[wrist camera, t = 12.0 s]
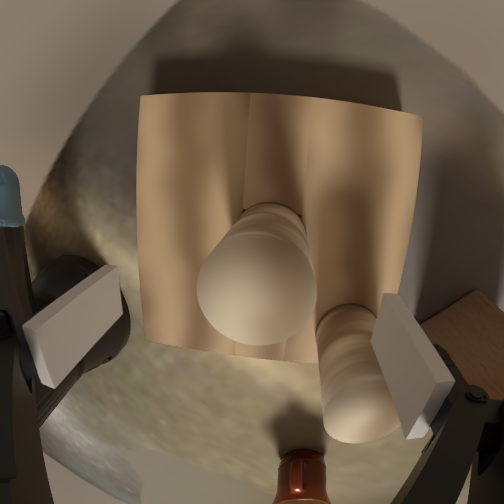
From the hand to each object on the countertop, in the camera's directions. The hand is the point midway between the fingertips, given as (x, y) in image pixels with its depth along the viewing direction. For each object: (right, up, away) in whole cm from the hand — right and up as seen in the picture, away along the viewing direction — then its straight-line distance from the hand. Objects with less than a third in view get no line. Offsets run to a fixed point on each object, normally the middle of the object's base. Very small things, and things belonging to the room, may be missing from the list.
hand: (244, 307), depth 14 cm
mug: (+8, -29, +26) cm, 40 cm away
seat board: (+2, +5, +16) cm, 17 cm away
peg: (+2, +5, +15) cm, 17 cm away
